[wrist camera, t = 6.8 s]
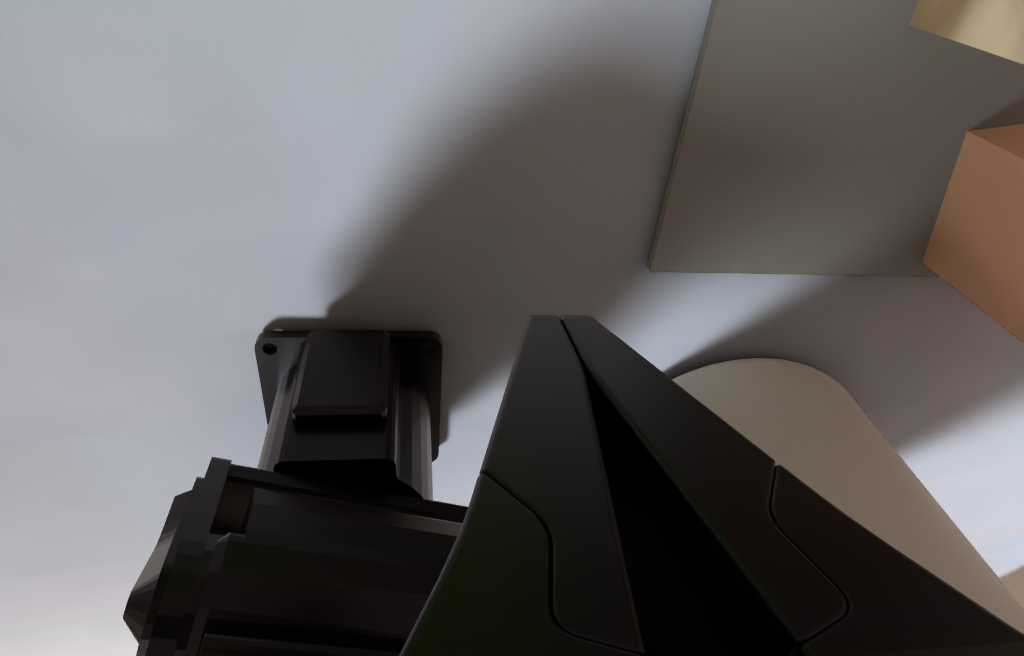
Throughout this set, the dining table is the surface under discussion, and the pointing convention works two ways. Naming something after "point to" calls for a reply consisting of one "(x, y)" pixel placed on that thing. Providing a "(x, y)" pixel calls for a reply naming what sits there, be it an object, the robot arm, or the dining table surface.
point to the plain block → (976, 24)
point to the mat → (823, 139)
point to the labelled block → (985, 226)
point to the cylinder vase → (846, 465)
